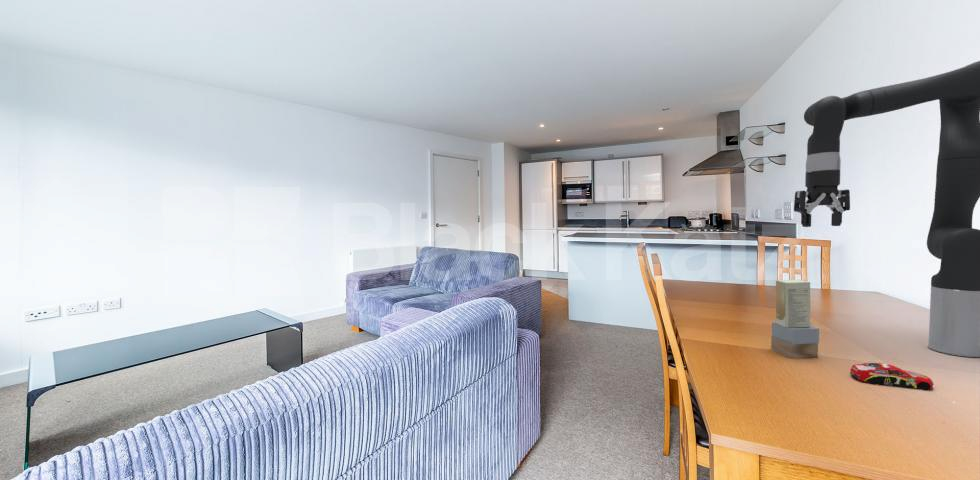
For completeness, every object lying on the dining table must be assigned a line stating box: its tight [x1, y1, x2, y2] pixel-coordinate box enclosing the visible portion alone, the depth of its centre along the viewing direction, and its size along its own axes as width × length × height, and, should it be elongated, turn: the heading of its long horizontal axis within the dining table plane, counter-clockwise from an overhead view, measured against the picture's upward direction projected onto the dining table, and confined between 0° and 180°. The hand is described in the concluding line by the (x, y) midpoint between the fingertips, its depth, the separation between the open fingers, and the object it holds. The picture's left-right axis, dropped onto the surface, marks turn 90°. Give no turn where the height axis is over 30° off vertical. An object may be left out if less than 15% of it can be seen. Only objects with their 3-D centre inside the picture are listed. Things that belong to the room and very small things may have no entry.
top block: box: [771, 321, 820, 345], centre depth 102 cm, size 7×7×4 cm
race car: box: [849, 362, 934, 391], centre depth 84 cm, size 13×5×4 cm, turn 66°
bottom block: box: [770, 335, 819, 360], centre depth 102 cm, size 7×7×4 cm
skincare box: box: [775, 279, 811, 327], centre depth 101 cm, size 6×4×12 cm
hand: (821, 226), depth 109 cm, fingers open, 8 cm apart
